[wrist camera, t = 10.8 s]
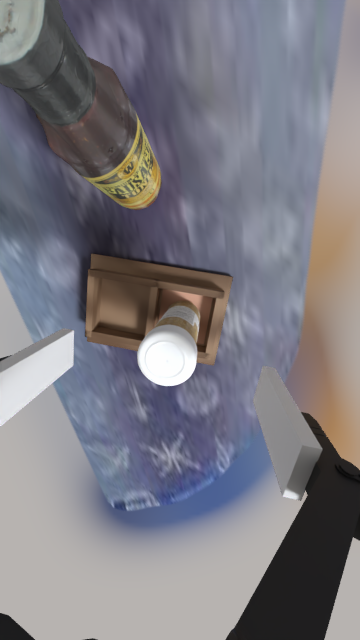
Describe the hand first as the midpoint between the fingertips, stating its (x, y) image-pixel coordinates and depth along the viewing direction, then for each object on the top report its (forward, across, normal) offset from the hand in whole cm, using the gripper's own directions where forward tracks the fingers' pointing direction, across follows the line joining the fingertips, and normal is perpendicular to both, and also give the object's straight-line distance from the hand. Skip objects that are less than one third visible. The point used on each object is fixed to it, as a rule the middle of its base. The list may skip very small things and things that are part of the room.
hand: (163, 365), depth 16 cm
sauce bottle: (+16, -8, +14) cm, 23 cm away
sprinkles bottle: (+15, 0, 0) cm, 15 cm away
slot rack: (+16, -4, -1) cm, 16 cm away
